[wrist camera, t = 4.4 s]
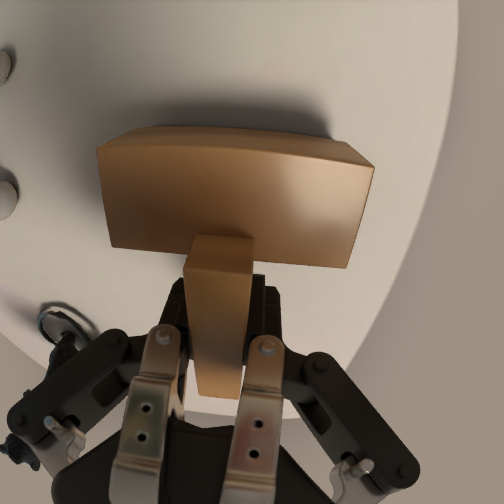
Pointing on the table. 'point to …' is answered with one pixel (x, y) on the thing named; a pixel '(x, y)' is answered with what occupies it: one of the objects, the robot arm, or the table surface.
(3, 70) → the molecular model
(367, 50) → the table surface
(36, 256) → the table surface
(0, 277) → the table surface
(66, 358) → the sculpture
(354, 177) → the brush
